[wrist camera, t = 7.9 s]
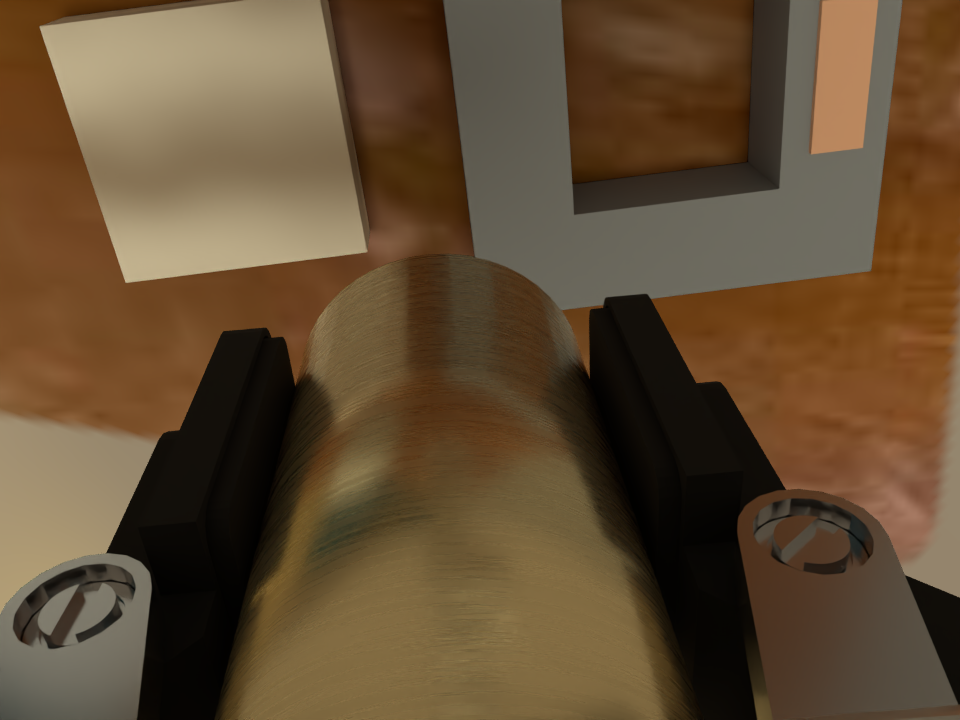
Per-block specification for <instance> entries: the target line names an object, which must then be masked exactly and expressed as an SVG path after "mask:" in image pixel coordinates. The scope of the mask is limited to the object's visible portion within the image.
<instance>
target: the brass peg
mask: <svg viewBox="0 0 960 720" xmlns="http://www.w3.org/2000/svg"><path fill="white" fill-rule="evenodd" d="M214 720H704V719H703V716H702V713H701V710H700V707H699V704H698V701H697V698H696V695H695V692H694V689H693V686H692V683H691V680H690V677H689V674H688V671H687V668H686V665H685V662H684V659H683V656H682V653H681V650H680V647H679V644H678V641H677V638H676V635H675V632H674V629H673V626H672V623H671V620H670V617H669V614H668V612H667V609H666V606H665V603H664V600H663V597H662V594H661V591H660V588H659V585H658V582H657V579H656V576H655V573H654V570H653V567H652V564H651V561H650V558H649V555H648V552H647V549H646V546H645V543H644V540H643V537H642V534H641V531H640V528H639V525H638V522H637V519H636V516H635V513H634V510H633V507H632V504H631V501H630V498H629V495H628V492H627V489H626V486H625V483H624V480H623V477H622V474H621V471H620V468H619V465H618V462H617V459H616V456H615V453H614V450H613V447H612V444H611V441H610V439H609V436H608V433H607V430H606V427H605V424H604V421H603V418H602V415H601V412H600V409H599V406H598V403H597V400H596V397H595V394H594V391H593V388H592V385H591V382H590V379H589V376H588V373H587V370H586V367H585V364H584V361H583V358H582V355H581V352H580V349H579V346H578V343H577V340H576V338H575V335H574V333H573V330H572V328H571V326H570V324H569V322H568V321H567V319H566V317H565V316H564V314H563V312H562V311H561V309H560V308H559V307H558V306H557V305H556V303H555V302H554V301H553V300H552V298H551V297H550V296H549V295H547V294H546V293H545V292H544V291H543V290H542V289H541V288H540V287H539V286H538V285H536V284H535V283H533V282H532V281H530V280H529V279H528V278H526V277H525V276H523V275H522V274H520V273H518V272H516V271H514V270H512V269H510V268H508V267H506V266H503V265H500V264H498V263H495V262H492V261H489V260H486V259H481V258H477V257H472V256H466V255H456V254H428V255H422V256H415V257H409V258H405V259H402V260H398V261H395V262H391V263H388V264H386V265H384V266H381V267H379V268H377V269H374V270H372V271H370V272H369V273H367V274H365V275H363V276H362V277H360V278H358V279H357V280H355V281H354V282H353V283H351V284H350V285H349V286H347V287H346V288H345V289H343V290H342V291H341V292H340V293H339V294H338V295H337V296H336V297H335V298H334V299H333V300H332V301H331V302H330V303H329V304H328V306H327V307H326V308H325V310H324V311H323V313H322V314H321V315H320V317H319V318H318V320H317V322H316V323H315V325H314V327H313V329H312V331H311V333H310V336H309V338H308V341H307V344H306V347H305V350H304V354H303V358H302V362H301V366H300V370H299V375H298V379H297V383H296V387H295V391H294V395H293V399H292V403H291V407H290V411H289V415H288V420H287V424H286V428H285V432H284V436H283V440H282V444H281V448H280V452H279V456H278V460H277V465H276V469H275V473H274V477H273V481H272V485H271V489H270V493H269V497H268V501H267V505H266V510H265V514H264V518H263V522H262V526H261V530H260V534H259V538H258V542H257V546H256V550H255V555H254V559H253V563H252V567H251V571H250V575H249V579H248V583H247V587H246V591H245V595H244V600H243V604H242V608H241V612H240V616H239V620H238V624H237V628H236V632H235V636H234V640H233V645H232V649H231V653H230V657H229V661H228V665H227V669H226V673H225V677H224V681H223V685H222V690H221V694H220V698H219V702H218V706H217V710H216V714H215V718H214Z"/></svg>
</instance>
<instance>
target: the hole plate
mask: <svg viewBox="0 0 960 720" xmlns="http://www.w3.org/2000/svg"><path fill="white" fill-rule="evenodd" d="M443 5H444V13H445V21H446V29H447V37H448V45H449V54H450V62H451V70H452V78H453V86H454V94H455V102H456V111H457V119H458V127H459V135H460V143H461V151H462V159H463V168H464V176H465V184H466V192H467V200H468V208H469V217H470V225H471V233H472V241H473V249H474V257H477V258H481V259H486V260H489V261H492V262H495V263H498V264H500V265H503V266H506V267H508V268H510V269H512V270H514V271H516V272H518V273H520V274H522V275H523V276H525V277H526V278H528V279H529V280H530V281H532V282H533V283H535V284H536V285H538V286H539V287H540V288H541V289H542V290H543V291H544V292H545V293H546V294H547V295H549V296H550V297H551V298H552V300H553V301H554V302H555V303H556V305H557V306H558V307H559V308H560V309H561V310H566V309H574V308H581V307H589V306H597V305H604V300H605V297H614V296H625V295H637V294H648V295H649V297H650V299H653V298H660V297H668V296H676V295H684V294H692V293H700V292H708V291H716V290H724V289H732V288H739V287H747V286H755V285H763V284H771V283H779V282H787V281H795V280H803V279H811V278H818V277H826V276H834V275H842V274H850V273H858V272H866V271H871V266H872V257H873V249H874V240H875V231H876V223H877V214H878V206H879V197H880V188H881V180H882V171H883V163H884V154H885V145H886V137H887V128H888V120H889V111H890V103H891V94H892V85H893V77H894V68H895V60H896V51H897V42H898V34H899V25H900V17H901V8H902V0H754V20H753V45H752V71H751V96H750V122H749V147H748V162H745V163H737V164H730V165H722V166H714V167H706V168H698V169H690V170H682V171H674V172H666V173H659V174H651V175H643V176H635V177H627V178H619V179H611V180H603V181H595V182H588V183H580V184H572V171H571V155H570V139H569V122H568V106H567V90H566V73H565V57H564V41H563V24H562V8H561V0H443Z"/></svg>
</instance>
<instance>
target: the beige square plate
mask: <svg viewBox="0 0 960 720" xmlns="http://www.w3.org/2000/svg"><path fill="white" fill-rule="evenodd" d="M39 27H40V30H41V33H42V36H43V39H44V42H45V45H46V48H47V50H48V53H49V56H50V59H51V62H52V65H53V68H54V71H55V74H56V77H57V80H58V83H59V86H60V89H61V92H62V95H63V98H64V101H65V104H66V107H67V110H68V113H69V116H70V119H71V122H72V125H73V128H74V131H75V133H76V136H77V139H78V142H79V145H80V148H81V151H82V154H83V157H84V160H85V163H86V166H87V169H88V172H89V175H90V178H91V181H92V184H93V187H94V190H95V193H96V196H97V199H98V202H99V205H100V208H101V211H102V214H103V216H104V219H105V222H106V225H107V228H108V231H109V234H110V237H111V240H112V243H113V246H114V249H115V252H116V255H117V258H118V261H119V264H120V267H121V270H122V273H123V276H124V279H125V282H126V283H128V282H136V281H144V280H152V279H160V278H168V277H176V276H184V275H192V274H199V273H207V272H215V271H223V270H231V269H239V268H247V267H255V266H263V265H270V264H278V263H286V262H294V261H302V260H310V259H318V258H326V257H334V256H341V255H349V254H357V253H365V252H367V250H368V243H369V236H370V227H369V222H368V216H367V211H366V205H365V200H364V194H363V189H362V183H361V178H360V172H359V167H358V161H357V156H356V150H355V145H354V139H353V134H352V128H351V123H350V117H349V112H348V106H347V101H346V96H345V90H344V85H343V79H342V74H341V68H340V63H339V57H338V52H337V46H336V41H335V35H334V30H333V24H332V19H331V13H330V8H329V2H328V0H195V1H187V2H179V3H171V4H164V5H156V6H148V7H140V8H132V9H124V10H116V11H108V12H101V13H93V14H85V15H77V16H69V17H63V18H61V19H58V20H55V21H53V22H50V23H47V24H45V25H42V26H39Z"/></svg>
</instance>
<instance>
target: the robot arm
mask: <svg viewBox="0 0 960 720" xmlns="http://www.w3.org/2000/svg"><path fill="white" fill-rule="evenodd" d="M589 340H590V382H591V385H592V388H593V391H594V394H595V397H596V400H597V403H598V406H599V409H600V412H601V415H602V418H603V421H604V424H605V427H606V430H607V433H608V436H609V439H610V441H611V444H612V447H613V450H614V453H615V456H616V459H617V462H618V465H619V468H620V471H621V474H622V477H623V480H624V483H625V486H626V489H627V492H628V495H629V498H630V501H631V504H632V507H633V510H634V513H635V516H636V519H637V522H638V525H639V528H640V531H641V534H642V537H643V540H644V543H645V546H646V549H647V552H648V555H649V558H650V561H651V564H652V567H653V570H654V573H655V576H656V579H657V582H658V585H659V588H660V591H661V594H662V597H663V600H664V603H665V606H666V609H667V612H668V614H669V617H670V620H671V623H672V626H673V629H674V632H675V635H676V638H677V641H678V644H679V647H680V650H681V653H682V656H683V659H684V662H685V665H686V668H687V671H688V674H689V677H690V680H691V683H692V686H693V689H694V692H695V695H696V698H697V701H698V704H699V707H700V710H701V713H702V716H703V719H704V720H960V598H959V597H957V596H954V595H952V594H949V593H947V592H945V591H942V590H940V589H937V588H935V587H933V586H930V585H928V584H925V583H923V582H920V581H918V580H916V579H913V578H911V577H908V576H906V575H905V574H904V572H903V569H902V567H901V565H900V562H899V560H898V557H897V555H896V552H895V550H894V548H893V545H892V543H891V540H890V538H889V536H888V534H887V533H886V531H885V530H884V528H883V527H882V525H881V524H880V522H879V521H878V520H877V519H875V518H874V517H873V516H872V515H871V514H869V513H868V512H867V511H866V510H865V509H863V508H862V507H860V506H858V505H856V504H854V503H852V502H850V501H848V500H846V499H844V498H841V497H838V496H834V495H831V494H828V493H824V492H820V491H812V490H803V489H792V490H786V489H785V487H784V486H783V484H782V482H781V481H780V479H779V477H778V476H777V474H776V472H775V470H774V469H773V467H772V465H771V464H770V462H769V460H768V459H767V457H766V455H765V454H764V452H763V450H762V449H761V447H760V445H759V443H758V442H757V440H756V438H755V437H754V435H753V433H752V432H751V430H750V428H749V427H748V425H747V423H746V422H745V420H744V418H743V417H742V415H741V413H740V411H739V410H738V408H737V406H736V405H735V403H734V401H733V400H732V398H731V396H730V395H729V393H728V391H727V390H726V388H725V387H724V386H723V384H722V383H721V382H705V383H696V382H695V380H694V378H693V376H692V375H691V373H690V371H689V369H688V367H687V365H686V363H685V362H684V360H683V358H682V356H681V354H680V352H679V350H678V349H677V347H676V345H675V343H674V341H673V339H672V338H671V336H670V334H669V332H668V330H667V328H666V326H665V325H664V323H663V321H662V319H661V317H660V315H659V314H658V312H657V310H656V308H655V306H654V304H653V302H652V301H651V299H650V297H649V295H648V294H637V295H625V296H614V297H605V300H604V305H603V308H599V309H591V310H590V316H589ZM294 391H295V383H294V378H293V374H292V369H291V364H290V359H289V354H288V349H287V345H286V342H285V339H284V338H283V337H276V338H271V335H270V333H269V331H268V329H267V328H256V329H245V330H234V331H223V333H222V334H221V336H220V338H219V341H218V343H217V345H216V348H215V350H214V352H213V354H212V357H211V359H210V361H209V364H208V366H207V368H206V371H205V373H204V375H203V377H202V380H201V382H200V384H199V387H198V389H197V391H196V394H195V396H194V398H193V401H192V403H191V405H190V407H189V410H188V412H187V414H186V417H185V419H184V421H183V424H182V426H181V428H180V430H179V431H169V432H166V433H163V435H162V436H161V437H160V439H159V440H158V443H157V445H156V447H155V449H154V451H153V454H152V456H151V458H150V460H149V462H148V464H147V466H146V469H145V471H144V473H143V475H142V477H141V480H140V481H139V484H138V486H137V488H136V490H135V492H134V494H133V497H132V499H131V501H130V503H129V505H128V507H127V509H126V512H125V514H124V516H123V518H122V520H121V522H120V525H119V527H118V529H117V531H116V533H115V535H114V538H113V540H112V542H111V544H110V546H109V549H108V550H107V553H105V554H97V555H88V556H84V557H81V558H77V559H74V560H70V561H67V562H64V563H61V564H60V565H58V566H55V567H53V568H51V569H49V570H47V571H45V572H43V573H41V574H39V575H38V576H37V577H35V578H34V579H32V580H31V581H30V582H28V583H27V584H26V585H24V586H23V587H21V588H20V589H19V590H18V591H17V593H16V594H15V595H14V596H13V597H12V598H11V599H10V600H9V601H8V602H7V603H6V605H5V606H4V608H3V610H2V612H1V614H0V720H214V718H215V714H216V710H217V706H218V702H219V698H220V694H221V690H222V685H223V681H224V677H225V673H226V669H227V665H228V661H229V657H230V653H231V649H232V645H233V640H234V636H235V632H236V628H237V624H238V620H239V616H240V612H241V608H242V604H243V600H244V595H245V591H246V587H247V583H248V579H249V575H250V571H251V567H252V563H253V559H254V555H255V550H256V546H257V542H258V538H259V534H260V530H261V526H262V522H263V518H264V514H265V510H266V505H267V501H268V497H269V493H270V489H271V485H272V481H273V477H274V473H275V469H276V465H277V460H278V456H279V452H280V448H281V444H282V440H283V436H284V432H285V428H286V424H287V420H288V415H289V411H290V407H291V403H292V399H293V395H294Z"/></svg>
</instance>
